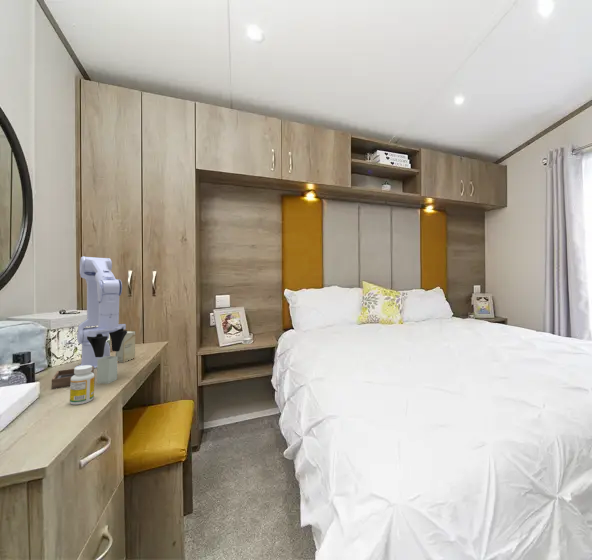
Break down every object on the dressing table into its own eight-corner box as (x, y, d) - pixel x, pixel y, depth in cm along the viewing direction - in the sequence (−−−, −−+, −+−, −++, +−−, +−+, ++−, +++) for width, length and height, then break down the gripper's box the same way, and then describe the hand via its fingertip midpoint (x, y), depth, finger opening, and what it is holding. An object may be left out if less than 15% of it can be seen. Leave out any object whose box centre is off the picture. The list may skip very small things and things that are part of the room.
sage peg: (105, 378, 92) (106, 356, 92) (116, 379, 92) (117, 356, 92) (96, 383, 88) (97, 359, 88) (108, 383, 88) (109, 359, 88)
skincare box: (123, 362, 111) (124, 333, 111) (114, 361, 112) (115, 333, 112) (135, 358, 117) (136, 331, 117) (127, 357, 118) (127, 330, 118)
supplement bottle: (76, 406, 71) (77, 371, 71) (65, 403, 73) (66, 368, 74) (98, 398, 76) (99, 365, 76) (87, 395, 78) (88, 363, 79)
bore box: (57, 379, 91) (57, 370, 91) (93, 374, 96) (93, 366, 96) (51, 389, 82) (51, 379, 83) (91, 382, 88) (91, 373, 88)
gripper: (103, 317, 83) (102, 360, 83) (134, 312, 97) (133, 349, 97) (82, 316, 83) (81, 359, 83) (115, 312, 98) (114, 348, 97)
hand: (107, 353), depth 90 cm, fingers open, 7 cm apart
